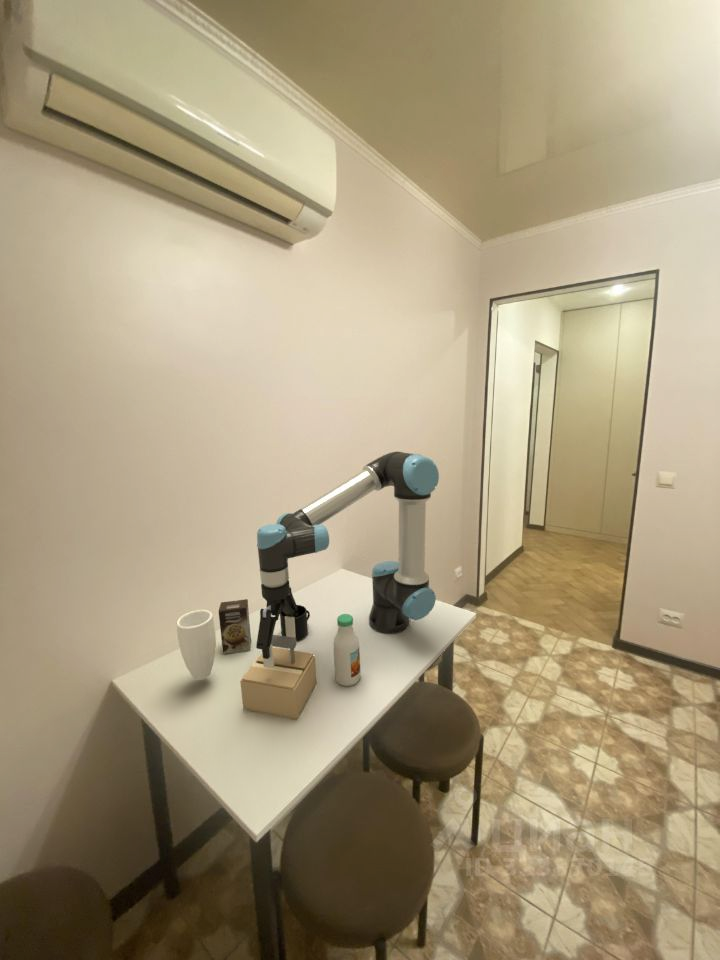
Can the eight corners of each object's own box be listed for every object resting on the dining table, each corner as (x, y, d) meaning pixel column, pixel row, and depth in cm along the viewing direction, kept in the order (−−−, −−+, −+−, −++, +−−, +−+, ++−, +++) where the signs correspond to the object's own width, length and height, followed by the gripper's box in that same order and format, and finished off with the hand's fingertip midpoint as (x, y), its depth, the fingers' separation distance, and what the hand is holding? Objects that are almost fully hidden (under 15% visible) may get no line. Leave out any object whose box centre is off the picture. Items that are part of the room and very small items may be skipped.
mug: (318, 629, 141) (317, 607, 140) (292, 645, 133) (290, 621, 131) (302, 620, 148) (300, 599, 146) (276, 635, 139) (274, 612, 137)
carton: (316, 682, 115) (314, 653, 113) (297, 720, 101) (294, 687, 100) (268, 674, 119) (265, 646, 117) (243, 709, 106) (239, 678, 104)
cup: (185, 677, 119) (176, 613, 115) (220, 667, 123) (213, 605, 119) (183, 700, 110) (173, 632, 105) (222, 689, 113) (214, 623, 109)
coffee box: (222, 655, 129) (217, 611, 126) (225, 643, 135) (220, 601, 132) (250, 651, 131) (246, 607, 127) (251, 639, 137) (247, 598, 134)
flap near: (313, 654, 113) (311, 629, 111) (303, 670, 107) (301, 643, 105) (267, 648, 117) (265, 623, 115) (256, 662, 111) (253, 636, 109)
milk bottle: (343, 690, 111) (339, 628, 107) (330, 675, 118) (327, 615, 114) (365, 679, 115) (363, 619, 111) (352, 665, 122) (349, 607, 118)
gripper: (283, 561, 118) (287, 624, 122) (237, 602, 94) (245, 679, 98) (305, 563, 116) (309, 627, 120) (264, 606, 92) (271, 683, 96)
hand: (280, 651), depth 109 cm, fingers open, 13 cm apart
